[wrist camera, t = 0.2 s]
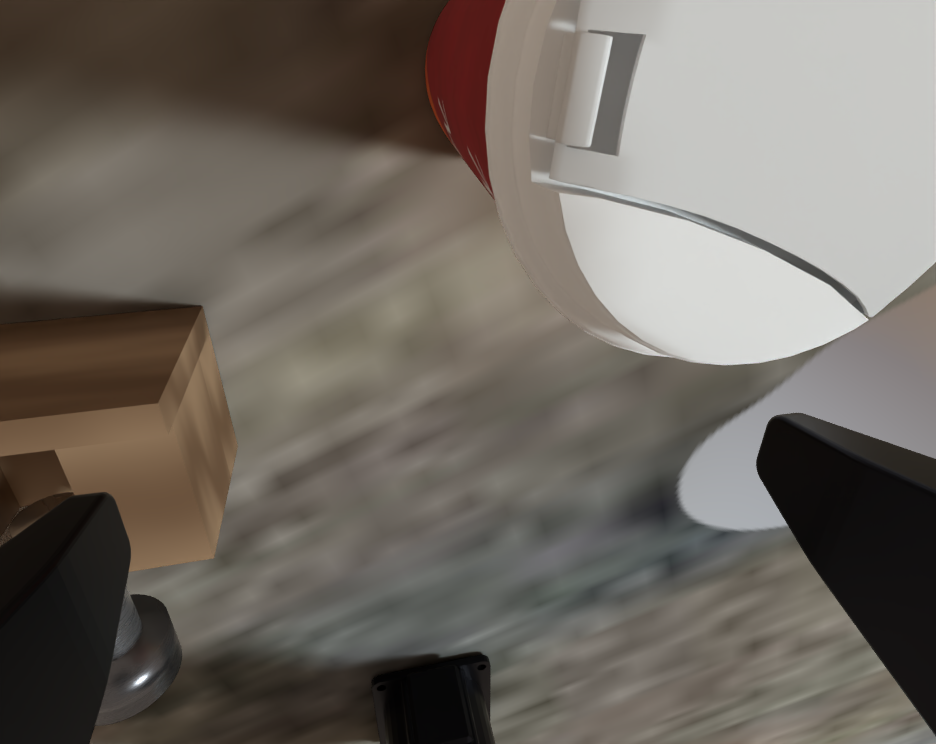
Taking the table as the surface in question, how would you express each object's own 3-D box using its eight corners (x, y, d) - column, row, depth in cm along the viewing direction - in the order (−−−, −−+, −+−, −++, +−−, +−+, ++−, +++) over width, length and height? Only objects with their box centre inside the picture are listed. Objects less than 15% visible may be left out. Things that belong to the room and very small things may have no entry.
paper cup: (383, 184, 20) (472, 396, 8) (398, -99, 16) (599, -475, 5) (596, 202, 22) (926, 395, 10) (651, -49, 18) (1265, -219, 6)
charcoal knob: (190, 619, 25) (169, 712, 21) (86, 638, 24) (47, 736, 21) (135, 467, 21) (99, 551, 17) (9, 484, 20) (-56, 575, 17)
